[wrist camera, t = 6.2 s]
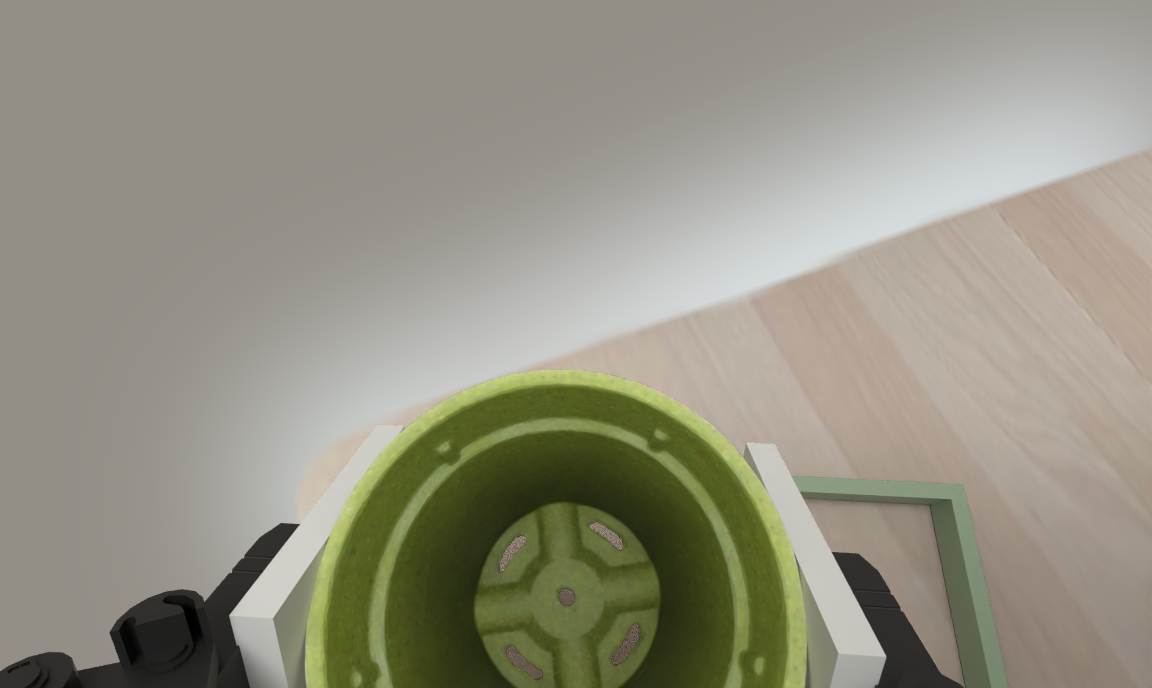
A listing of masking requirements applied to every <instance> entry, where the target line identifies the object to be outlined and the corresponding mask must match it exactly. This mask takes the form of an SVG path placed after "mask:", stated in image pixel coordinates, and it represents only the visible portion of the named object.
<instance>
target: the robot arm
mask: <svg viewBox="0 0 1152 688" xmlns="http://www.w3.org/2000/svg"><path fill="white" fill-rule="evenodd" d="M404 429H405V428H404V426H391V425H377V426H376V427H375V429H374V430H373V431H372V433H371V434H370V435H369V436H368V438H367V439H366V440H365V442H364V443H363V444H362V445H361V447H360V448H359V449H358V451H357V452H356V453H355V454H354V456H353V457H352V458H351V459H350V461H349V462H348V463H347V465H346V466H345V467H344V468H343V470H342V471H341V472H340V474H339V475H338V476H337V477H336V479H335V480H334V481H333V483H332V484H331V485H330V486H329V488H328V489H327V490H326V492H325V493H324V494H323V495H322V497H321V498H320V499H319V501H318V502H317V503H316V504H315V506H314V507H313V508H312V510H311V511H310V512H309V513H308V515H307V516H306V517H305V519H304V520H303V521H302V522H301V524H287V523H281V524H279V525H278V526H276V527H275V528H273V529H272V530H270V531H269V532H267V533H266V534H264V535H263V536H261V537H260V538H259V539H258V540H257V541H256V542H255V544H254V545H253V546H252V547H251V548H250V549H249V551H248V552H247V553H246V554H245V557H244V559H241V560H240V561H239V562H238V564H237V565H236V566H235V567H234V568H233V570H232V573H229V574H228V575H227V576H226V578H225V579H224V580H223V581H222V582H221V584H220V585H219V586H218V587H217V588H216V589H215V591H214V592H213V593H212V594H211V595H210V597H209V598H208V599H207V600H206V601H205V602H204V600H203V597H202V596H200V595H199V594H198V593H197V592H195V591H190V590H183V589H181V590H175V591H167V592H164V593H161V594H158V595H155V596H152V597H150V598H147V599H146V600H144V601H142V602H140V603H139V604H137V605H135V606H134V607H132V608H130V609H129V610H128V611H127V612H126V613H125V614H124V615H123V616H121V617H120V618H119V619H118V620H117V622H116V623H115V625H114V626H113V628H112V629H111V631H110V635H111V638H112V640H113V643H114V646H115V649H116V652H117V654H118V657H119V660H120V662H119V663H114V664H110V665H104V666H99V667H94V668H90V669H84V670H80V671H77V669H76V667H75V665H74V662H73V660H72V658H71V657H70V656H68V655H66V654H64V653H60V652H47V653H43V654H39V655H35V656H31V657H28V658H25V659H23V660H21V661H19V662H17V663H14V664H12V665H10V666H8V667H6V668H5V669H3V670H2V671H0V688H307V686H306V679H305V638H306V627H307V620H308V616H309V611H310V606H311V601H312V596H313V592H314V587H315V583H316V578H317V574H318V569H319V566H320V562H321V559H322V555H323V552H324V549H325V546H326V544H327V541H328V539H329V536H330V533H331V530H332V528H333V526H334V524H335V522H336V519H337V517H338V515H339V513H340V511H341V509H342V507H343V506H344V504H345V502H346V500H347V499H348V497H349V495H350V493H351V492H352V491H353V489H354V487H355V486H356V484H357V483H358V481H359V480H360V479H361V478H362V476H363V475H364V474H365V472H366V471H367V469H368V468H369V467H370V465H371V464H372V463H373V461H374V460H375V459H376V457H377V456H378V455H379V454H380V453H381V452H382V451H383V449H384V448H385V447H386V446H387V445H388V444H389V443H390V442H391V441H392V440H393V439H394V438H395V437H396V436H397V435H398V434H400V433H401V432H402V431H403V430H404ZM744 459H745V460H746V462H747V463H748V464H749V466H750V467H751V468H752V470H753V471H754V473H755V474H756V475H757V477H758V478H759V480H760V481H761V483H762V484H763V486H764V487H765V489H766V490H767V492H768V494H769V496H770V497H771V499H772V501H773V503H774V505H775V507H776V509H777V511H778V513H779V515H780V517H781V520H782V522H783V525H784V527H785V529H786V532H787V534H788V537H789V539H790V541H791V544H792V547H793V550H794V556H795V559H796V563H797V568H798V572H799V577H800V581H801V585H802V591H803V598H804V608H805V617H806V631H807V670H806V680H805V688H964V687H963V686H961V685H960V684H959V683H957V682H955V681H953V680H951V679H949V678H948V677H946V676H944V675H942V674H941V673H940V672H939V670H938V668H937V667H936V665H935V663H934V662H933V660H932V658H931V657H930V655H929V654H928V652H927V650H926V649H925V647H924V645H923V644H922V642H921V640H920V639H919V637H918V636H917V634H916V632H915V631H914V629H913V627H912V626H911V624H910V622H909V621H908V619H907V617H906V616H905V614H904V613H903V612H901V610H900V606H899V604H898V603H897V601H896V599H895V598H894V596H893V595H891V594H890V590H889V588H888V586H887V585H886V583H885V581H884V580H883V578H882V576H881V575H880V573H879V572H878V571H877V570H876V569H875V568H874V567H873V566H872V565H871V564H870V563H868V562H867V561H866V560H865V559H864V558H863V557H862V556H860V555H859V554H856V553H838V552H831V550H830V549H829V547H828V545H827V543H826V541H825V539H824V537H823V535H822V533H821V531H820V530H819V528H818V526H817V524H816V522H815V520H814V518H813V516H812V514H811V512H810V511H809V509H808V507H807V505H806V503H805V501H804V499H803V497H802V495H801V493H800V492H799V490H798V488H797V486H796V484H795V482H794V480H793V478H792V476H791V474H790V473H789V471H788V469H787V467H786V465H785V463H784V461H783V459H782V457H781V456H780V454H779V452H778V450H777V448H776V446H775V444H768V443H748V442H746V445H745V452H744Z"/></svg>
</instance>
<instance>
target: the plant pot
mask: <svg viewBox="0 0 1152 688" xmlns="http://www.w3.org/2000/svg"><path fill="white" fill-rule="evenodd" d="M595 522H598V523H600V524H602V525H604V526H606V527H607V528H608V529H610V530H611V531H613V532H615V533H616V534H617V535H618V536H619V537H620V538H621V539H622V543H623V545H624V546H623V548H622V550H618V549H617V548H616V547H615V546H614V545H612V544H611V543H610V542H609V541H608V540H607V539H606V538H605V537H603V536H602V535H600V534H599V533H598V532H595V531H594V530H592V529H590V528H589V525H590V524H593V523H595ZM521 535H523V536H525V537H526V538H527V539H526V543H525V545H523V546H522V547H521V548H520V549H519V550H518V552H517V553H516V554H515V555H514V556H513V558H512V559H511V560H510V562H509V564H508V565H507V566H505V570H504V571H503V572H499V570H500V568H499V564H500V561H501V559H502V556H503V553H504V551H505V550H506V548H507V547H508V545H509V544H510V543H511V542H512V541H513V540H514V539H515V538H517V537H519V536H521ZM566 588H567V589H570V590H571V591H573V593H574V595H575V600H574V602H573V603H572V604H571V605H568V606H566V605H564V604H563V603H562V602H561V601H560V600H559V593H560V591H561V590H562V589H566ZM634 623H637V624H638V625H639V628H640V636H639V640H638V642H637V644H636V645H635V646H634V647H633V649H632V651H631V652H630V654H629V656H628V657H627V658H626V659H625V660H624V661H623V662H621V663H620V664H616V665H614V664H613V663H612V662H611V657H612V656H613V654H614V653H615V652H616V651H617V649H618V648H619V647H620V646H621V644H622V643H623V642H624V640H625V638H626V636H627V635H628V632H629V628H630V627H631V625H632V624H634ZM509 646H514V647H515V648H516V650H517V651H518V652H519V653H520V654H521V655H522V656H523V657H524V658H525V659H526V660H527V661H529V662H530V663H531V664H532V665H534V666H535V667H536V668H539V669H541V670H542V674H543V677H542V678H541V677H540V678H539V679H532V678H531V677H530V676H529V675H528V674H526V673H525V671H523V670H521V669H518V668H516V667H515V666H514V665H513V664H512V663H511V661H510V660H509V658H508V657H507V655H506V651H507V647H509ZM806 670H807V631H806V617H805V608H804V598H803V591H802V585H801V581H800V577H799V572H798V568H797V563H796V559H795V556H794V550H793V547H792V544H791V541H790V539H789V537H788V534H787V532H786V529H785V527H784V525H783V522H782V520H781V517H780V515H779V513H778V511H777V509H776V507H775V505H774V503H773V501H772V499H771V497H770V496H769V494H768V492H767V490H766V489H765V487H764V486H763V484H762V483H761V481H760V480H759V478H758V477H757V475H756V474H755V473H754V471H753V470H752V468H751V467H750V466H749V464H748V463H747V462H746V460H745V459H744V458H743V457H742V456H741V455H740V453H739V452H738V451H737V450H736V449H735V448H734V447H733V445H732V444H731V443H730V442H729V441H728V440H727V439H726V438H725V437H724V436H723V435H722V434H720V433H719V432H718V431H717V430H716V429H715V428H714V427H713V426H712V425H711V424H709V423H708V422H707V421H706V420H704V419H703V418H701V417H700V416H698V415H697V414H696V413H694V412H693V411H691V410H690V409H688V408H687V407H685V406H684V405H682V404H681V403H679V402H677V401H676V400H674V399H672V398H670V397H669V396H667V395H665V394H663V393H661V392H659V391H657V390H655V389H653V388H650V387H648V386H646V385H643V384H640V383H637V382H635V381H632V380H628V379H625V378H621V377H617V376H613V375H609V374H604V373H598V372H591V371H586V370H573V369H565V370H562V369H553V370H538V371H531V372H525V373H519V374H513V375H508V376H504V377H501V378H497V379H493V380H490V381H487V382H484V383H481V384H478V385H475V386H473V387H470V388H468V389H466V390H464V391H461V392H459V393H457V394H456V395H454V396H452V397H450V398H448V399H446V400H445V401H443V402H441V403H440V404H438V405H436V406H435V407H433V408H432V409H430V410H429V411H427V412H426V413H425V414H423V415H422V416H420V417H419V418H418V419H417V420H415V421H414V422H413V423H412V424H410V425H409V426H408V427H407V428H405V429H404V430H403V431H402V432H401V433H400V434H398V435H397V436H396V437H395V438H394V439H393V440H392V441H391V442H390V443H389V444H388V445H387V446H386V447H385V448H384V449H383V451H382V452H381V453H380V454H379V455H378V456H377V457H376V459H375V460H374V461H373V463H372V464H371V465H370V467H369V468H368V469H367V471H366V472H365V474H364V475H363V476H362V478H361V479H360V480H359V481H358V483H357V484H356V486H355V487H354V489H353V491H352V492H351V493H350V495H349V497H348V499H347V500H346V502H345V504H344V506H343V507H342V509H341V511H340V513H339V515H338V517H337V519H336V522H335V524H334V526H333V528H332V530H331V533H330V536H329V539H328V541H327V544H326V546H325V549H324V552H323V555H322V559H321V562H320V566H319V569H318V574H317V578H316V583H315V587H314V592H313V596H312V601H311V606H310V611H309V616H308V620H307V627H306V638H305V679H306V686H307V688H805V680H806Z"/></svg>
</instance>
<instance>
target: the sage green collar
mask: <svg viewBox="0 0 1152 688" xmlns="http://www.w3.org/2000/svg"><path fill="white" fill-rule="evenodd" d="M792 478H793V480H794V482H795V484H796V486H797V488H798V490H799V492H800V493H801V495H802V497H803V498H809V499H828V500H847V501H866V502H886V503H905V504H924V505H930V507H931V512H932V517H933V523H934V528H935V533H936V538H937V543H938V548H939V553H940V558H941V563H942V568H943V574H944V579H945V584H946V589H947V594H948V599H949V604H950V609H951V614H952V620H953V625H954V630H955V635H956V640H957V645H958V650H959V655H960V660H961V665H962V671H963V676H964V681H965V686H966V688H1009V686H1008V682H1007V677H1006V673H1005V668H1004V664H1003V659H1002V655H1001V650H1000V646H999V641H998V637H997V632H996V628H995V623H994V619H993V614H992V610H991V605H990V601H989V596H988V592H987V587H986V583H985V578H984V574H983V569H982V565H981V560H980V556H979V551H978V547H977V542H976V538H975V533H974V529H973V525H972V520H971V516H970V511H969V507H968V502H967V498H966V493H965V489H964V485H962V484H943V483H923V482H903V481H883V480H864V479H844V478H824V477H804V476H792Z"/></svg>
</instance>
